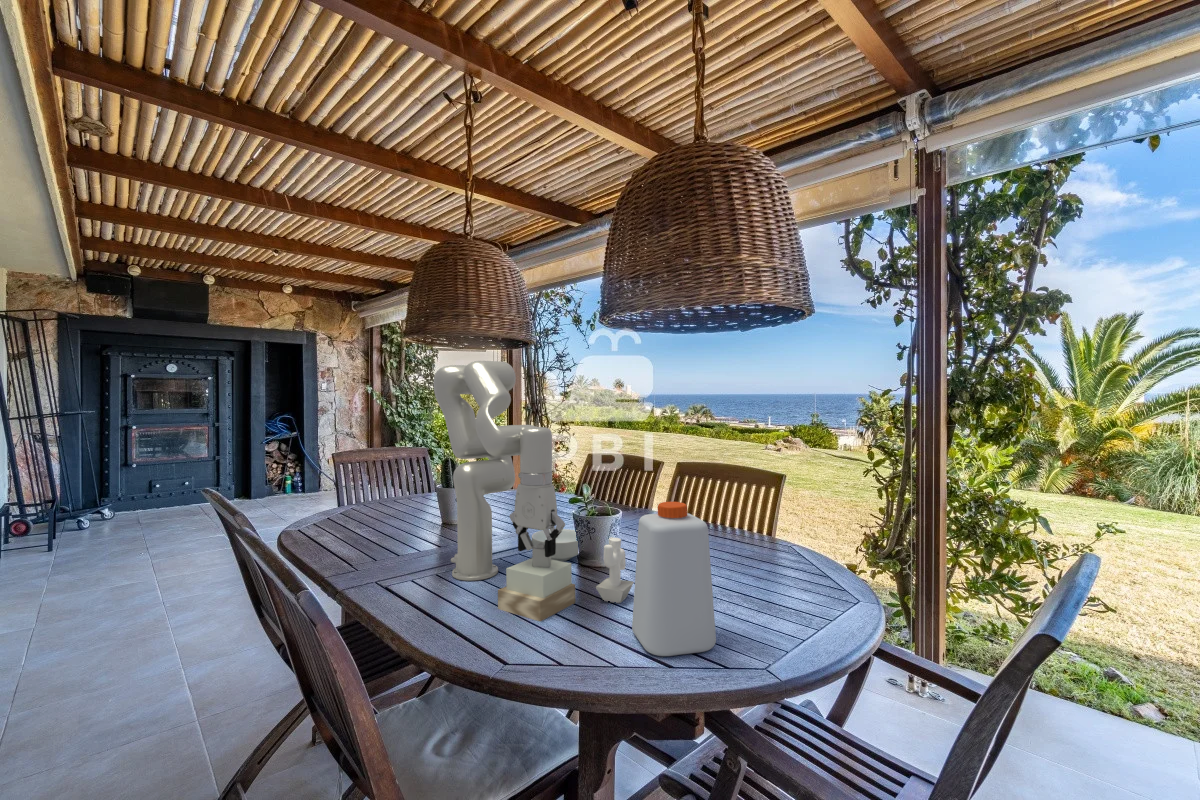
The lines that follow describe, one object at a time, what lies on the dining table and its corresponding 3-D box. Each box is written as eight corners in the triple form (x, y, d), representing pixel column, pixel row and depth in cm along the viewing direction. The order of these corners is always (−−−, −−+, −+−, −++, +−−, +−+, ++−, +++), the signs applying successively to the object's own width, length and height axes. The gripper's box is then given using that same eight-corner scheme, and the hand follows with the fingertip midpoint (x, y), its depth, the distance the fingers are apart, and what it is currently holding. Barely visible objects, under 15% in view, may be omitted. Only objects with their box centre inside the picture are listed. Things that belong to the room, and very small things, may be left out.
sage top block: (506, 589, 131) (506, 568, 131) (536, 576, 140) (535, 556, 140) (543, 598, 125) (543, 576, 125) (571, 583, 134) (571, 563, 134)
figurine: (635, 594, 139) (635, 535, 139) (621, 608, 130) (621, 544, 130) (609, 590, 142) (609, 532, 142) (593, 603, 133) (593, 541, 133)
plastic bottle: (649, 661, 105) (649, 514, 104) (627, 628, 119) (626, 499, 119) (723, 652, 108) (723, 509, 108) (692, 621, 123) (692, 495, 122)
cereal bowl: (578, 567, 161) (578, 543, 160) (524, 564, 164) (523, 540, 164) (591, 551, 177) (591, 529, 177) (541, 548, 180) (541, 527, 180)
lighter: (551, 565, 132) (550, 532, 132) (549, 567, 131) (548, 534, 130) (522, 563, 134) (522, 530, 133) (520, 566, 132) (520, 532, 132)
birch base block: (498, 611, 130) (497, 589, 130) (534, 594, 141) (534, 574, 141) (540, 623, 123) (540, 601, 123) (575, 604, 134) (575, 584, 134)
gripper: (498, 478, 133) (499, 550, 134) (554, 485, 124) (554, 563, 124) (520, 474, 140) (520, 543, 140) (574, 480, 130) (575, 555, 130)
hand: (536, 552), depth 132 cm, fingers open, 7 cm apart
